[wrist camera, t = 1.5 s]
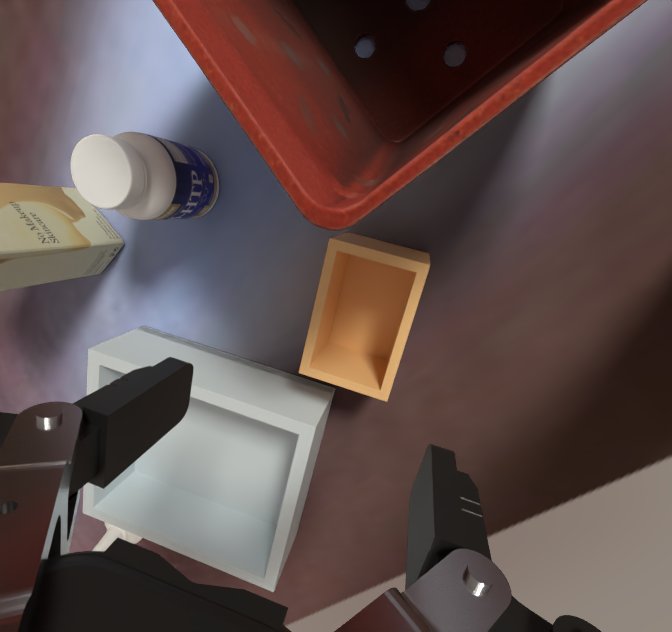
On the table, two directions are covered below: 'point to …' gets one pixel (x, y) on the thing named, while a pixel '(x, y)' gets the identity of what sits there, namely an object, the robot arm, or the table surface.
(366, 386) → the small crate
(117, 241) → the skincare box
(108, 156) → the pill bottle
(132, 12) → the table surface
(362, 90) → the plant pot
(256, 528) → the big crate
